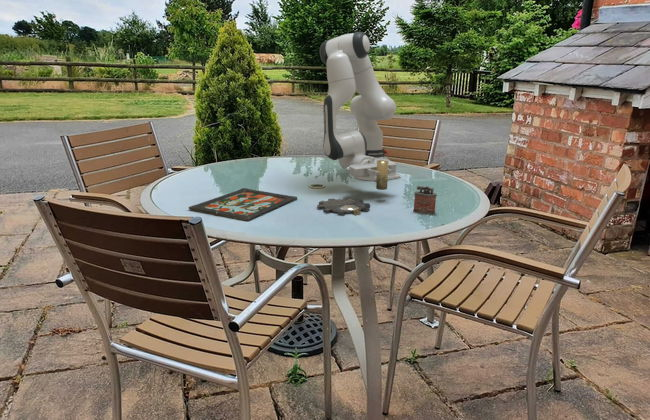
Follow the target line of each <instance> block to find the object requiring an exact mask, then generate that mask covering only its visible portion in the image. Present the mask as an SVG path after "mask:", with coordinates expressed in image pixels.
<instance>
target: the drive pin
mask: <svg viewBox="0 0 650 420" xmlns="http://www.w3.org/2000/svg"><path fill="white" fill-rule="evenodd" d="M377 171H379V175H377V179H376V181H375V184H376V185H375V189H376V190H378V191H379V190H380V191H386V190H388V181H389V180H388V161H386V160H378V161H377Z"/></svg>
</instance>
